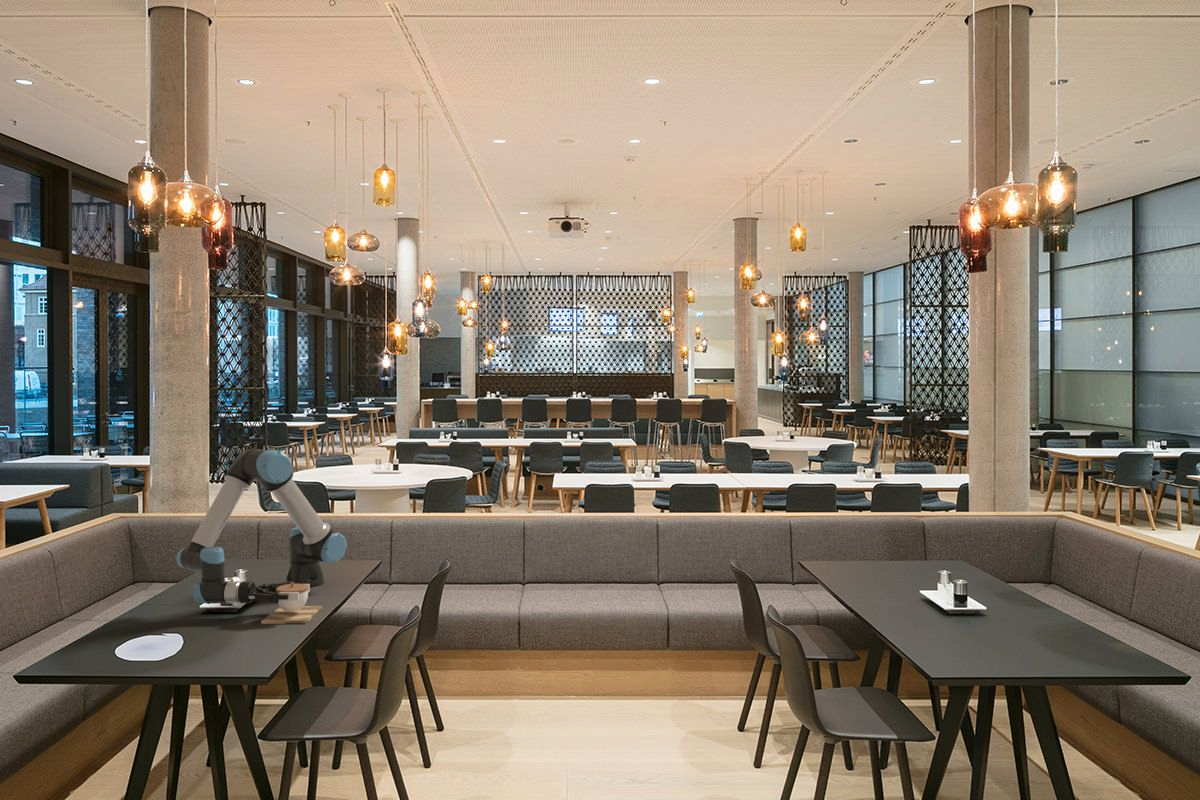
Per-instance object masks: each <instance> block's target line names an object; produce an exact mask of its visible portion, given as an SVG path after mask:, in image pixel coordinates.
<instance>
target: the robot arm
mask: <svg viewBox="0 0 1200 800" xmlns="http://www.w3.org/2000/svg"><path fill="white" fill-rule="evenodd" d="M292 467H293V463H292V461H291V458H289V456H288V455H287V454H286V453H284V452H281V451H279V450H275V449H260V448H250V449H248V450H245V451H244V452H242V453H241V454H240V455H239V456H238V457H237V458H235V460H234V461H233V463H232V464H231V465H230V467H228V470H227V472H226V473H225V475H224V480H225V481H224V483H223V484H222V486H221V487H220V489H219V491H218V494H216V497H215V498H214V501H213V502H212V504H211V505H210V507H209V509H208V511H207V513H206V514H205V516H204V518H203V520H202V522H201V523H200V525H199V526H198V528H197V529H196V532H195V534H194V535H193V537H192V539H191V541H190V542H189V544H188V546H187V547H183V548H181V550H179V551H178V552H177V554H176V560H175V561H176V563H177V565H178V566H179V567H180V568H183V569H184V570H186V571H193V572H197V573H200V581H198V582H196V584H195V585H194V588H193V593H192V594H193V599H194V601H195V602H196V603H199V604H207V605H211V604H231V605H232V606H234V605H235V604H251V603H253V602H263V603H275V604H278V603H279V601H298V600H299V592H280V593H279V595H278V593H276V588H277V587H279V586H282V585H287V584H291V583H292V582H294V584H306V585H308V593H310V592H311V591H310V590H311V587H310V586H312V587H316V585H317V586H320V585H323V584H324V583H326V575H325V573H324V570H323V567H322V565H321V564H322V563H325V564H334V563H336V562H338V561H340V560H341V559H342V558H343V557H344V555H345V553H346V550H347V549H346V548H347V546H348V545H347V544H348V543H347V539H346V537H345V536H344V535H343V534H341V533H339V532H336V531H335V530H334V529H333V527H332V526H331V524H330V523H329V522H323V520H322V519H321V517H320V516H319V514H318V513H317V512H316V510H315V509H314V508H313V506H312V505H311V503H310V501H308V499H307V498H306V497H305V495H304V494H303V492H302V490H301V489H300V488H299V486H298V485H297V483H296V482H295V481H294V479H293V478H294V472H293V468H292ZM255 481H256V482H258V484H260V486H261V487H262V488H263V490H264V491H265V492H267V493H272V494H273V495H274V497H275V498H276V500H277V501H278V503H279V504H280V505H281V507H282V508H283V510H284V511H285V512H286V513H287V515H288V516H289V518H290V519H291V520H292V521H293V523H294V524H295V526H296V527H292V528H291V529H289V534H288V541H289V543H288V544H289V546H288V547H289V567H288V569H287V573H286V577H285V579H284V581H285V582H279V583H263V584H260V585H258V586H256V584H255V582H254V581H252V580H250V581H247V580H245V581H241V580H239V581H234V580H229V581H226V580H225V579H226V578H225V560H226V557H225V552H224V548H223V547H221V546H214V545H215V544H216V542H217V540H218V539H219V536H220V535H221V532H222V531H223V529H224V528H225V526H226V524H227V522H228V521H229V518H230V517H231V515H232V513H233V512H234V510H235V508H236V506H237V504H238V503H239V500H240V499H241V498H242V495H243V494H244V492H245V490H247V489H249V488H250V487H251V485H252V484H253V482H255ZM321 562H322V563H321ZM322 583H323V584H322Z"/></svg>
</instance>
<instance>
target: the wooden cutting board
mask: <svg viewBox="0 0 1200 800" xmlns="http://www.w3.org/2000/svg"><path fill="white" fill-rule="evenodd" d="M320 609H321V610H323V605H304V606H303V607H302V609H301V610H298V611H292V612H287V611H284V610H283V609H282V608H281V607H280V606H279V607H277V608H276V609H275V610H273V612H271V613H269V614H268V615H267V616H266V617H264V618H263V619H262V620H261V624H262V625H268V624H269V625H270V624H271V625H276V624H277V625H278V624H279V625H282V624H283V625H285V624H286V623H306V622H307V621H308V622H310V620H311V619H313V618H314V617H315V616H316V615H317V614H318V613H319V612H320V611H321V610H320ZM319 610H320V611H319ZM318 611H319V612H318ZM317 612H318V613H317ZM316 613H317V614H316ZM315 614H316V615H315ZM314 615H315V616H314ZM313 616H314V617H313ZM308 622H307V623H308ZM307 623H306V624H307Z"/></svg>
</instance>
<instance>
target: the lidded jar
mask: <svg viewBox="0 0 1200 800" xmlns="http://www.w3.org/2000/svg"><path fill="white" fill-rule="evenodd" d="M280 592H299V600H298V601H279V603H277V604H278V606H279V607H281V608H282V609H283V610H284V611H287V612H292V611H298V610H301V609H302V607H303V606H306V603H307V601H308V598H309V592H308V585H306V584H294V582H292V583H291V584H287V585H282V586H279V587H277V588H276V593H278V595H279V593H280Z"/></svg>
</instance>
